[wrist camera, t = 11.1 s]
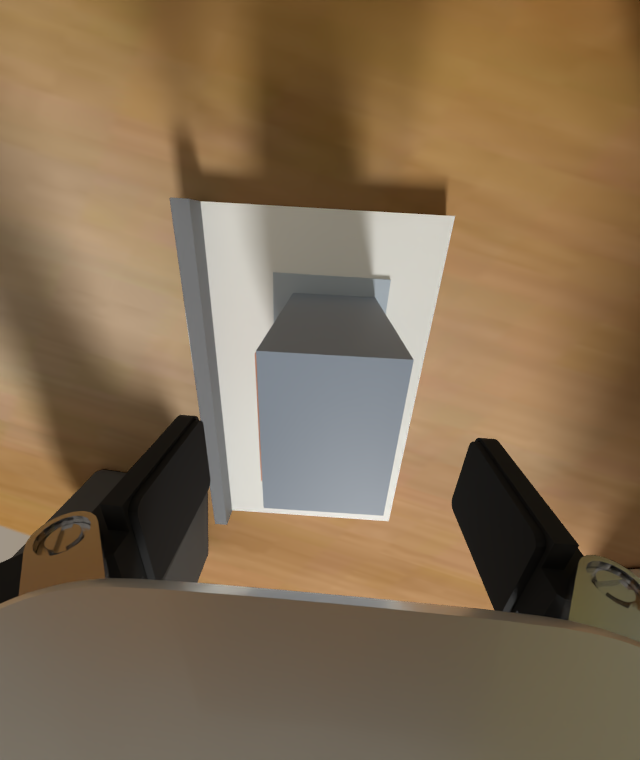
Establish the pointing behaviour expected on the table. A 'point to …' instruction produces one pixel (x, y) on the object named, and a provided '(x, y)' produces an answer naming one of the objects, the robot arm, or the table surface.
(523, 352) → the table surface
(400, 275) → the shelf board
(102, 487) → the sculpture
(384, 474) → the box
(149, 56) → the table surface
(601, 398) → the table surface
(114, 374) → the table surface
